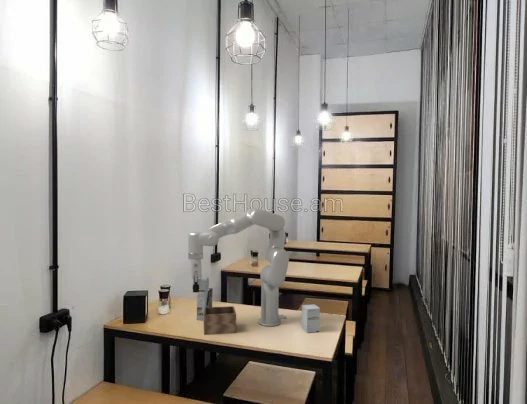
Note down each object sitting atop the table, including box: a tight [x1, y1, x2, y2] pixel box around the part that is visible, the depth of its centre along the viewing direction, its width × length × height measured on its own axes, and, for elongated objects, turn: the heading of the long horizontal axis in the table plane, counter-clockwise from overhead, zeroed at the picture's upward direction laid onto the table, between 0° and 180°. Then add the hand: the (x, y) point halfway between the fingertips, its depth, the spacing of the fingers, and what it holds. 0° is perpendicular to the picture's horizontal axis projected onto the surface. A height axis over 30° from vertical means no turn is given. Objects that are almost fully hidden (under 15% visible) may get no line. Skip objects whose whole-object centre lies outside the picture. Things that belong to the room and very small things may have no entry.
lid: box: [191, 277, 210, 315], centre depth 189 cm, size 16×12×8 cm
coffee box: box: [196, 287, 213, 322], centre depth 208 cm, size 9×6×16 cm
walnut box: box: [203, 305, 237, 336], centre depth 191 cm, size 16×12×10 cm
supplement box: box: [301, 303, 321, 334], centre depth 192 cm, size 7×7×13 cm
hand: (196, 291), depth 188 cm, fingers closed
